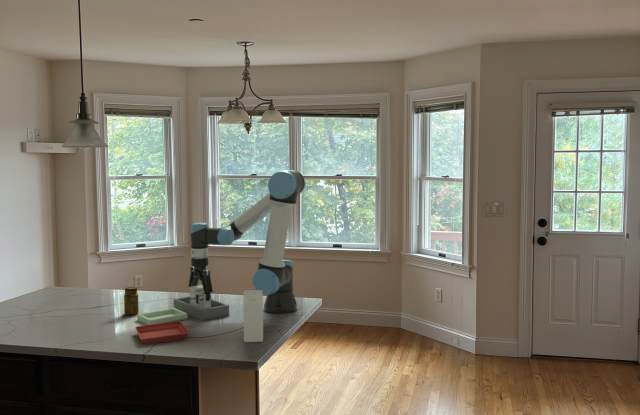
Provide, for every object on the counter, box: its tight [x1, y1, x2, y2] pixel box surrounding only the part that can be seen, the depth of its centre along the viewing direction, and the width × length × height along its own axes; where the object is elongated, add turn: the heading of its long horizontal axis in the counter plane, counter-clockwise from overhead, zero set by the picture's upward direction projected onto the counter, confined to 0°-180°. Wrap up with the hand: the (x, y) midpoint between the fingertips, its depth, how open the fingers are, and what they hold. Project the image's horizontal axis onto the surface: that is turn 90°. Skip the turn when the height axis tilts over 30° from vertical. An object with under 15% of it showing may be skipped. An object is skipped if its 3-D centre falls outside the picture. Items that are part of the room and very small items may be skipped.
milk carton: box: [242, 290, 264, 343], centre depth 226 cm, size 7×7×19 cm
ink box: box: [189, 284, 212, 309], centre depth 269 cm, size 8×5×12 cm, turn 123°
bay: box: [173, 295, 230, 321], centre depth 269 cm, size 27×14×4 cm, turn 40°
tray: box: [136, 307, 189, 325], centre depth 256 cm, size 13×17×2 cm
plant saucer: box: [134, 320, 189, 345], centre depth 231 cm, size 18×18×3 cm
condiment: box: [122, 286, 141, 318], centre depth 264 cm, size 7×8×12 cm
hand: (200, 305), depth 269 cm, fingers open, 11 cm apart
